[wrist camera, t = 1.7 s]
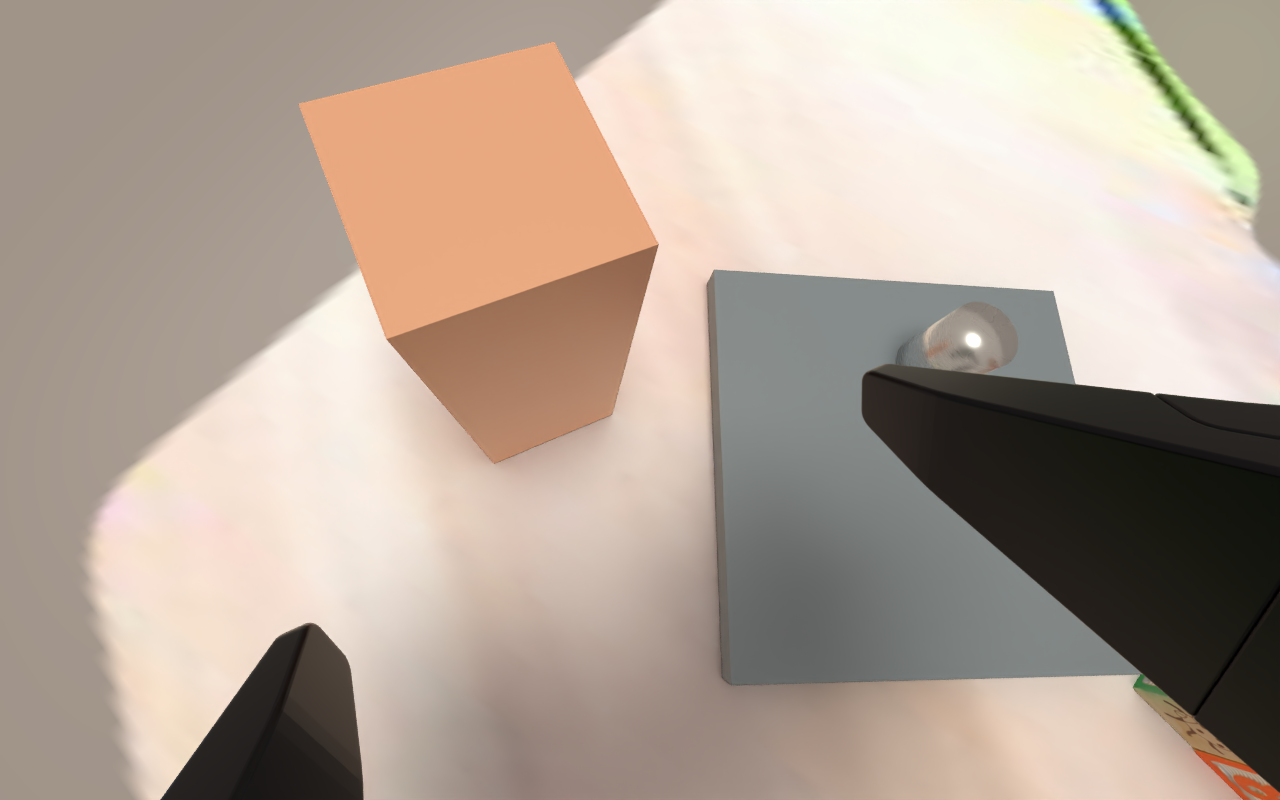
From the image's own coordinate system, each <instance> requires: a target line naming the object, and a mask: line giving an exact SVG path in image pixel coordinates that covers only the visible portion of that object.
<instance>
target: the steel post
mask: <svg viewBox="0 0 1280 800" xmlns="http://www.w3.org/2000/svg"><path fill="white" fill-rule="evenodd" d="M1017 349H1018V337H1017V333H1016V330H1015V327H1014V326H1013V324H1012V322H1011V321H1010V319H1009V318H1008V317H1007V316H1006V315H1005V314H1004V313H1003V312H1002V311H1001V310H999V309H998V308H996V307H994V306H992V305H990V304H987V303H983V302H970V303H966V304H964V305H962V306H961V307H959V308H958V309H956V310H955V311H953V312H952V313H950V314H948V315H947V316H945V317H944V318H942V319H941V320H939V321H938V322H936V323H934V324H933V325H931V326H930V327H928V328H927V329H925V330H924V331H922V332H920V333H919V334H917V335H916V336H914V337H913V338H911V339H910V340H908V341H906V342H905V343H904V344H902V345H901V347H900V348H899V350H898V351H897V354H896V361H895V362H896V364H897V365H906V366H915V367H924V368H933V369H942V370H951V371H960V372H969V373H978V374H987V373H989V372H991V371H994V370H996V369H998V368H1000V367H1003V366H1005V365H1007V364H1008V363H1009V362H1011V361H1012V360H1013V358H1014V357H1015V355H1016V353H1017Z"/></svg>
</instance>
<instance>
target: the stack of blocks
mask: <svg viewBox="0 0 1280 800" xmlns="http://www.w3.org/2000/svg"><path fill="white" fill-rule="evenodd" d="M1133 688H1134V690H1135V691H1136V692H1137V693H1138V694H1139V695H1140V696H1141V697H1142V698H1143V699H1144V700H1145V701H1146V702H1147V703H1148V704H1149V705H1150V706H1151V707H1152V708H1153V709H1154V710H1155V711H1156V712H1157V713H1158V714H1159V715H1160V716H1161V717H1162V718H1163V719H1164V720H1165V721H1166V722H1167V723H1168V724H1169V725H1170V726H1171V727H1172V728H1173V729H1174V730H1175V731H1176V732H1177V733H1179V734H1180V735H1181V736H1182V737H1183V738H1184V739H1185V740H1186V741H1187V742H1188V743H1189V744H1190V745H1191V746H1192V747H1193V749H1194V751H1195V753H1196V754H1197V755H1198V756H1199V757H1200V758H1201V759H1202V760H1203V761H1204V762H1205V763H1206V764H1207V765H1208V766H1210V767H1211V768H1212V769H1213V770H1214V771H1215V772H1216V773H1217V774H1218V775H1219V776H1220V777H1221V778H1222V779H1223V780H1224V781H1225V782H1226V783H1227V784H1228V785H1229V786H1230V787H1231V788H1232V789H1233V790H1234V791H1235V792H1236V793H1237V794H1238V795H1239V796H1240V797H1241V798H1242V799H1243V800H1280V793H1279V792H1278V791H1277V790H1275V789H1274V788H1273V787H1272V786H1271V785H1270V784H1268V783H1267V782H1266V781H1265V780H1264V779H1263V778H1261V777H1260V776H1259V775H1258V774H1257V773H1256V772H1255V771H1253V770H1252V769H1251V768H1250V767H1249V766H1248V765H1246V764H1245V763H1244V762H1243V761H1242V760H1241V759H1240V758H1238V757H1237V756H1236V755H1235V754H1234V753H1233V752H1231V751H1230V750H1229V749H1228V748H1227V747H1226V746H1224V745H1223V744H1222V743H1221V742H1220V741H1219V740H1218V739H1216V738H1215V737H1214V736H1213V735H1212V734H1211V733H1209V732H1208V731H1207V730H1206V729H1205V728H1204V727H1203V726H1201V725H1200V724H1199V723H1198V722H1197V721H1196V720H1195V719H1194V718H1193V716H1192V715H1189V714H1188V713H1187V712H1186V711H1185V710H1183V709H1182V708H1181V707H1180V706H1179V705H1178V704H1176V703H1175V702H1174V701H1173V700H1172V699H1171V698H1169V697H1168V696H1167V695H1166V694H1165V693H1164V692H1163V691H1161V690H1160V689H1159V688H1158V687H1157V686H1156V685H1154V684H1153V683H1152V682H1151V681H1150V680H1149V679H1147V678H1146V677H1145V676H1144V675H1143V674H1140V676H1139V678H1138V679H1137V681H1136V682H1135V684H1134V686H1133Z"/></svg>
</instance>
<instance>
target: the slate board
mask: <svg viewBox="0 0 1280 800" xmlns="http://www.w3.org/2000/svg"><path fill="white" fill-rule="evenodd" d="M707 287H708V313H709V340H710V367H711V394H712V420H713V447H714V474H715V500H716V527H717V554H718V580H719V607H720V634H721V660H722V678H723V679H724V680H726V681H727V682H728V683H729V684H730V685H760V684H798V683H835V682H873V681H910V680H948V679H985V678H1023V677H1060V676H1098V675H1135V674H1142V673H1141V672H1139V671H1138V670H1137V669H1136V668H1135V667H1134V666H1132V665H1131V664H1130V663H1129V662H1128V661H1127V660H1126V659H1124V658H1123V657H1122V656H1121V655H1120V654H1119V653H1117V652H1116V651H1115V650H1114V649H1113V648H1112V647H1110V646H1109V645H1108V644H1107V643H1106V642H1105V641H1104V640H1102V639H1101V638H1100V637H1099V636H1098V635H1097V634H1095V633H1094V632H1093V631H1092V630H1091V629H1090V628H1088V627H1087V626H1086V625H1085V624H1084V623H1083V622H1082V621H1080V620H1079V619H1078V618H1077V617H1076V616H1075V615H1073V614H1072V613H1071V612H1070V611H1069V610H1068V609H1066V608H1065V607H1064V606H1063V605H1062V604H1061V603H1060V602H1058V601H1057V600H1056V599H1055V598H1054V597H1053V596H1051V595H1050V594H1049V593H1048V592H1047V591H1046V590H1044V589H1043V588H1042V587H1041V586H1040V585H1039V584H1038V583H1036V582H1035V581H1034V580H1033V579H1032V578H1031V577H1029V576H1028V575H1027V574H1026V573H1025V572H1024V571H1022V570H1021V569H1020V568H1019V567H1018V566H1017V565H1016V564H1014V563H1013V562H1012V561H1011V560H1010V559H1009V558H1007V557H1006V556H1005V555H1004V554H1003V553H1002V552H1000V551H999V550H998V549H997V548H996V547H995V546H994V545H992V544H991V543H990V542H989V541H988V540H987V539H985V538H984V537H983V536H982V535H981V534H980V533H978V532H977V531H976V530H975V529H974V528H973V527H972V526H970V525H969V524H968V523H967V522H966V521H965V520H963V519H962V518H961V517H960V516H959V515H958V514H956V513H955V512H954V511H953V510H952V509H951V508H950V507H948V506H947V505H946V504H945V503H944V502H943V501H941V500H940V499H939V498H938V497H937V496H936V495H935V494H934V493H932V492H931V491H930V490H929V489H928V488H927V487H926V486H925V485H924V484H923V483H922V482H921V481H920V480H919V479H918V478H917V477H916V476H915V475H914V474H913V473H912V472H911V471H910V470H909V469H908V468H907V467H906V466H905V464H904V463H903V462H902V461H901V460H900V459H899V458H898V457H897V456H896V455H895V454H894V453H893V452H892V451H891V450H890V449H889V448H888V447H887V446H886V445H885V443H884V442H883V441H882V440H881V439H880V438H879V437H878V436H877V435H876V434H875V433H874V432H873V431H872V430H871V429H870V428H869V427H868V425H867V424H866V423H865V421H864V419H863V417H862V412H861V394H862V377H863V375H864V374H865V373H866V372H867V371H869V370H871V369H873V368H875V367H878V366H880V365H883V364H896V362H895V361H896V354H897V351H898V350H899V348H900V347H901V345H902V344H904V343H905V342H906V341H908V340H910V339H911V338H913V337H914V336H916V335H917V334H919V333H920V332H922V331H924V330H925V329H927V328H928V327H930V326H931V325H933V324H934V323H936V322H938V321H939V320H941V319H942V318H944V317H945V316H947V315H948V314H950V313H952V312H953V311H955V310H956V309H958V308H959V307H961V306H962V305H964V304H966V303H970V302H983V303H987V304H990V305H992V306H994V307H996V308H998V309H999V310H1001V311H1002V312H1003V313H1004V314H1005V315H1006V316H1007V317H1008V318H1009V319H1010V321H1011V322H1012V324H1013V326H1014V327H1015V330H1016V333H1017V337H1018V349H1017V353H1016V355H1015V357H1014V358H1013V360H1012V361H1011V362H1009V363H1008V364H1007V365H1005V366H1003V367H1000V368H998V369H996V370H994V371H991V372H989V373H987V375H996V376H1005V377H1014V378H1023V379H1032V380H1041V381H1050V382H1059V383H1068V384H1075V380H1074V376H1073V372H1072V368H1071V364H1070V359H1069V355H1068V351H1067V347H1066V342H1065V338H1064V334H1063V330H1062V326H1061V321H1060V317H1059V313H1058V309H1057V305H1056V300H1055V296H1054V292H1053V291H1042V290H1026V289H1010V288H994V287H979V286H963V285H947V284H931V283H916V282H900V281H884V280H868V279H852V278H837V277H821V276H805V275H789V274H774V273H758V272H742V271H726V270H714V271H713V273H712V275H711V277H710V279H709V281H708V283H707Z"/></svg>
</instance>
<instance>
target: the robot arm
mask: <svg viewBox="0 0 1280 800" xmlns="http://www.w3.org/2000/svg"><path fill="white" fill-rule="evenodd" d="M861 412H862V417H863V419H864V421H865V423H866V424H867V425H868V427H869V428H870V429H871V430H872V431H873V432H874V433H875V434H876V435H877V436H878V437H879V438H880V439H881V440H882V441H883V442H884V443H885V445H886V446H887V447H888V448H889V449H890V450H891V451H892V452H893V453H894V454H895V455H896V456H897V457H898V458H899V459H900V460H901V461H902V462H903V463H904V464H905V466H906V467H907V468H908V469H909V470H910V471H911V472H912V473H913V474H914V475H915V476H916V477H917V478H918V479H919V480H920V481H921V482H922V483H923V484H924V485H925V486H926V487H927V488H928V489H929V490H930V491H931V492H932V493H934V494H935V495H936V496H937V497H938V498H939V499H940V500H941V501H943V502H944V503H945V504H946V505H947V506H948V507H950V508H951V509H952V510H953V511H954V512H955V513H956V514H958V515H959V516H960V517H961V518H962V519H963V520H965V521H966V522H967V523H968V524H969V525H970V526H972V527H973V528H974V529H975V530H976V531H977V532H978V533H980V534H981V535H982V536H983V537H984V538H985V539H987V540H988V541H989V542H990V543H991V544H992V545H994V546H995V547H996V548H997V549H998V550H999V551H1000V552H1002V553H1003V554H1004V555H1005V556H1006V557H1007V558H1009V559H1010V560H1011V561H1012V562H1013V563H1014V564H1016V565H1017V566H1018V567H1019V568H1020V569H1021V570H1022V571H1024V572H1025V573H1026V574H1027V575H1028V576H1029V577H1031V578H1032V579H1033V580H1034V581H1035V582H1036V583H1038V584H1039V585H1040V586H1041V587H1042V588H1043V589H1044V590H1046V591H1047V592H1048V593H1049V594H1050V595H1051V596H1053V597H1054V598H1055V599H1056V600H1057V601H1058V602H1060V603H1061V604H1062V605H1063V606H1064V607H1065V608H1066V609H1068V610H1069V611H1070V612H1071V613H1072V614H1073V615H1075V616H1076V617H1077V618H1078V619H1079V620H1080V621H1082V622H1083V623H1084V624H1085V625H1086V626H1087V627H1088V628H1090V629H1091V630H1092V631H1093V632H1094V633H1095V634H1097V635H1098V636H1099V637H1100V638H1101V639H1102V640H1104V641H1105V642H1106V643H1107V644H1108V645H1109V646H1110V647H1112V648H1113V649H1114V650H1115V651H1116V652H1117V653H1119V654H1120V655H1121V656H1122V657H1123V658H1124V659H1126V660H1127V661H1128V662H1129V663H1130V664H1131V665H1132V666H1134V667H1135V668H1136V669H1137V670H1138V671H1139V672H1141V673H1142V674H1143V675H1144V676H1145V677H1146V678H1147V679H1149V680H1150V681H1151V682H1152V683H1153V684H1154V685H1156V686H1157V687H1158V688H1159V689H1160V690H1161V691H1163V692H1164V693H1165V694H1166V695H1167V696H1168V697H1169V698H1171V699H1172V700H1173V701H1174V702H1175V703H1176V704H1178V705H1179V706H1180V707H1181V708H1182V709H1183V710H1185V711H1186V712H1187V713H1188V714H1189V715H1192V716H1193V718H1194V719H1195V720H1196V721H1197V722H1198V723H1199V724H1200V725H1201V726H1203V727H1204V728H1205V729H1206V730H1207V731H1208V732H1209V733H1211V734H1212V735H1213V736H1214V737H1215V738H1216V739H1218V740H1219V741H1220V742H1221V743H1222V744H1223V745H1224V746H1226V747H1227V748H1228V749H1229V750H1230V751H1231V752H1233V753H1234V754H1235V755H1236V756H1237V757H1238V758H1240V759H1241V760H1242V761H1243V762H1244V763H1245V764H1246V765H1248V766H1249V767H1250V768H1251V769H1252V770H1253V771H1255V772H1256V773H1257V774H1258V775H1259V776H1260V777H1261V778H1263V779H1264V780H1265V781H1266V782H1267V783H1268V784H1270V785H1271V786H1272V787H1273V788H1274V789H1275V790H1277V791H1278V792H1279V793H1280V405H1271V404H1258V403H1246V402H1236V401H1226V400H1216V399H1206V398H1196V397H1186V396H1177V395H1168V394H1155V395H1154V394H1152V393H1149V392H1140V391H1131V390H1122V389H1113V388H1104V387H1095V386H1086V385H1077V384H1068V383H1059V382H1050V381H1041V380H1032V379H1023V378H1014V377H1005V376H996V375H987V374H978V373H969V372H960V371H951V370H942V369H933V368H924V367H915V366H906V365H897V364H883V365H880V366H878V367H875V368H873V369H871V370H869V371H867V372H866V373H865V374H864V375H863V377H862V394H861ZM161 800H363V776H362V764H361V755H360V746H359V738H358V729H357V720H356V711H355V702H354V693H353V685H352V676H351V669H350V665H349V663H348V660H347V658H346V657H345V655H344V654H343V653H342V651H341V650H340V649H339V648H338V647H337V646H336V645H335V644H334V642H333V641H332V640H331V639H330V638H329V637H328V636H327V635H326V633H325V632H324V631H323V630H322V629H321V628H320V627H319V626H318V625H316V624H314V623H306V624H304V625H301V626H299V627H297V628H295V629H292V630H290V631H288V632H286V633H284V634H282V635H280V636H279V637H278V638H276V640H275V641H274V642H273V643H272V645H271V646H270V648H269V649H268V650H267V652H266V653H265V655H264V656H263V657H262V659H261V660H260V662H259V663H258V664H257V666H256V667H255V669H254V670H253V671H252V673H251V674H250V676H249V677H248V678H247V680H246V681H245V682H244V684H243V685H242V687H241V688H240V689H239V691H238V692H237V694H236V695H235V696H234V698H233V699H232V701H231V702H230V703H229V705H228V706H227V708H226V709H225V710H224V712H223V713H222V715H221V716H220V717H219V719H218V720H217V722H216V723H215V724H214V726H213V727H212V729H211V730H210V731H209V733H208V734H207V736H206V737H205V738H204V740H203V741H202V743H201V744H200V745H199V747H198V748H197V750H196V751H195V752H194V754H193V755H192V757H191V758H190V759H189V761H188V762H187V763H186V765H185V766H184V768H183V769H182V770H181V772H180V773H179V775H178V776H177V777H176V779H175V780H174V782H173V783H172V784H171V786H170V787H169V789H168V790H167V791H166V793H165V794H164V796H163V797H162V798H161Z"/></svg>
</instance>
